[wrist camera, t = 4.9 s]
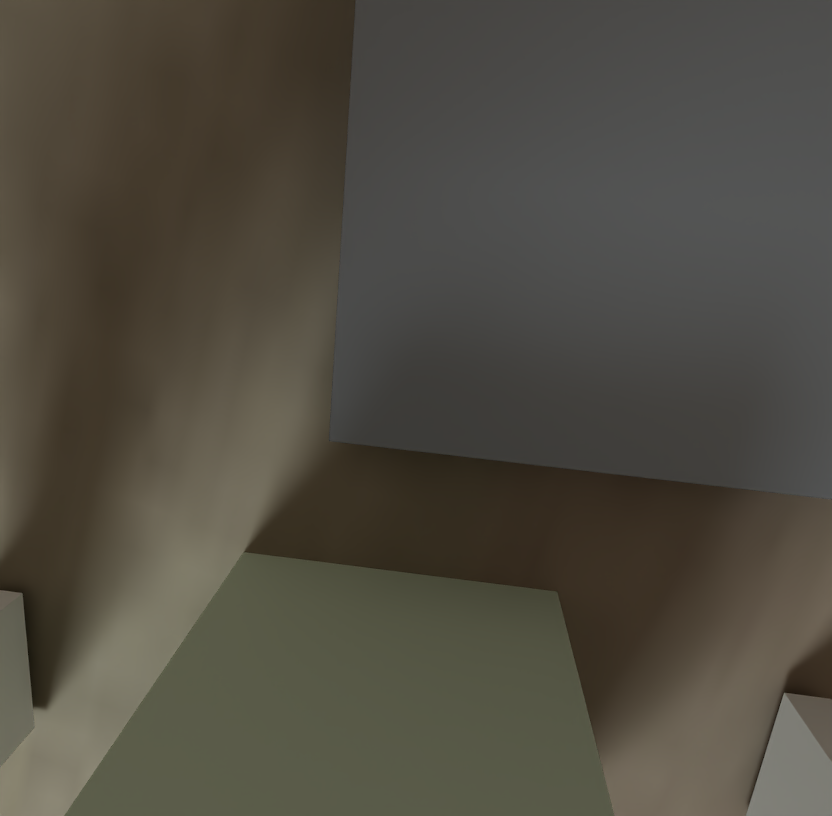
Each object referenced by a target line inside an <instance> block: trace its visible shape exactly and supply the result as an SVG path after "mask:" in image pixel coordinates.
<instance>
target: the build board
mask: <svg viewBox="0 0 832 816" xmlns="http://www.w3.org/2000/svg"><path fill="white" fill-rule="evenodd" d="M329 441H333V442H341V443H350V444H358V445H367V446H376V447H384V448H393V449H401V450H410V451H419V452H427V453H436V454H445V455H453V456H462V457H470V458H479V459H488V460H496V461H505V462H513V463H522V464H531V465H539V466H548V467H556V468H565V469H574V470H582V471H591V472H600V473H608V474H617V475H625V476H634V477H643V478H651V479H660V480H668V481H677V482H686V483H694V484H703V485H711V486H720V487H729V488H737V489H746V490H755V491H763V492H772V493H780V494H789V495H798V496H806V497H815V498H823V499H832V0H356V3H355V19H354V36H353V52H352V69H351V85H350V102H349V118H348V134H347V151H346V167H345V184H344V200H343V217H342V233H341V250H340V266H339V283H338V299H337V316H336V332H335V349H334V365H333V382H332V398H331V415H330V431H329Z"/></svg>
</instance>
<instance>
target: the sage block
mask: <svg viewBox="0 0 832 816" xmlns="http://www.w3.org/2000/svg"><path fill="white" fill-rule="evenodd" d="M65 816H614V813H613V809H612V805H611V801H610V797H609V793H608V789H607V785H606V781H605V777H604V773H603V769H602V766H601V762H600V758H599V754H598V750H597V746H596V742H595V738H594V734H593V730H592V726H591V722H590V718H589V715H588V711H587V707H586V703H585V699H584V695H583V691H582V687H581V683H580V679H579V675H578V671H577V667H576V664H575V660H574V656H573V652H572V648H571V644H570V640H569V636H568V632H567V628H566V624H565V620H564V616H563V613H562V609H561V605H560V601H559V597H558V593H557V592H556V591H549V590H541V589H533V588H525V587H517V586H509V585H501V584H493V583H485V582H477V581H469V580H461V579H453V578H445V577H437V576H430V575H422V574H414V573H406V572H398V571H390V570H382V569H374V568H366V567H358V566H350V565H342V564H334V563H326V562H318V561H311V560H303V559H295V558H287V557H279V556H271V555H263V554H255V553H247V552H244V553H243V554H242V555H241V557H240V558H239V560H238V561H237V563H236V564H235V566H234V567H233V569H232V570H231V572H230V573H229V575H228V576H227V578H226V579H225V580H224V582H223V583H222V585H221V586H220V588H219V589H218V591H217V592H216V594H215V595H214V597H213V598H212V600H211V601H210V602H209V604H208V605H207V607H206V608H205V610H204V611H203V613H202V614H201V616H200V617H199V619H198V620H197V622H196V623H195V625H194V626H193V627H192V629H191V630H190V632H189V633H188V635H187V636H186V638H185V639H184V641H183V642H182V644H181V645H180V647H179V648H178V650H177V651H176V652H175V654H174V655H173V657H172V658H171V660H170V661H169V663H168V664H167V666H166V667H165V669H164V670H163V672H162V673H161V674H160V676H159V677H158V679H157V680H156V682H155V683H154V685H153V686H152V688H151V689H150V691H149V692H148V694H147V695H146V697H145V698H144V699H143V701H142V702H141V704H140V705H139V707H138V708H137V710H136V711H135V713H134V714H133V716H132V717H131V719H130V720H129V722H128V723H127V724H126V726H125V727H124V729H123V730H122V732H121V733H120V735H119V736H118V738H117V739H116V741H115V742H114V744H113V745H112V746H111V748H110V749H109V751H108V752H107V754H106V755H105V757H104V758H103V760H102V761H101V763H100V764H99V766H98V767H97V769H96V770H95V771H94V773H93V774H92V776H91V777H90V779H89V780H88V782H87V783H86V785H85V786H84V788H83V789H82V791H81V792H80V794H79V795H78V796H77V798H76V799H75V801H74V802H73V804H72V805H71V807H70V808H69V810H68V811H67V813H66V814H65Z"/></svg>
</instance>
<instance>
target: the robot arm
mask: <svg viewBox="0 0 832 816" xmlns="http://www.w3.org/2000/svg"><path fill="white" fill-rule="evenodd" d="M34 727H35V726H34V715H33V704H32V693H31V682H30V671H29V660H28V649H27V638H26V627H25V615H24V604H23V593H18V592H10V591H3V590H0V767H1V766H2V764H3V763H4V762H5V761H6V760H7V759H8V758H9V756H10V755H11V754H12V753H13V752H14V751H15V749H16V748H17V747H18V746H19V745H20V744H21V742H22V741H23V740H24V739H25V738H26V737H27V736H28V734H29V733H30V732H31V731H32V730H33V729H34ZM746 816H832V699H828V698H821V697H813V696H805V695H798V694H790V693H784V695H783V698H782V701H781V704H780V708H779V711H778V714H777V717H776V721H775V724H774V727H773V730H772V733H771V737H770V740H769V743H768V746H767V750H766V753H765V756H764V759H763V762H762V766H761V769H760V772H759V775H758V779H757V782H756V785H755V788H754V792H753V795H752V798H751V801H750V804H749V808H748V811H747V814H746Z"/></svg>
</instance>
